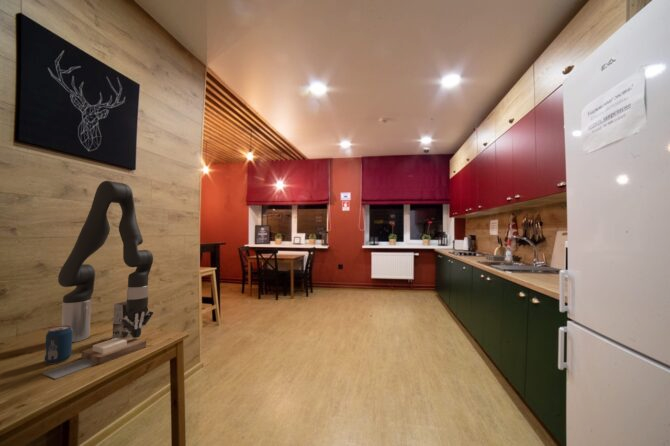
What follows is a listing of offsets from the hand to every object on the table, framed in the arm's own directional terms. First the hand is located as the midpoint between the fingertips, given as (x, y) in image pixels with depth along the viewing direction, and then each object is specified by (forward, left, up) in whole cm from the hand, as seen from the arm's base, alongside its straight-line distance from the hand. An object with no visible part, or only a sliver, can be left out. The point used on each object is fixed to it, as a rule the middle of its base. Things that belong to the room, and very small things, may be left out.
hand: (136, 337), depth 113 cm
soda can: (-12, -20, -4) cm, 24 cm away
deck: (0, -8, -3) cm, 8 cm away
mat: (0, -21, -3) cm, 21 cm away
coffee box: (-13, +4, -4) cm, 14 cm away
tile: (0, -10, -1) cm, 10 cm away
